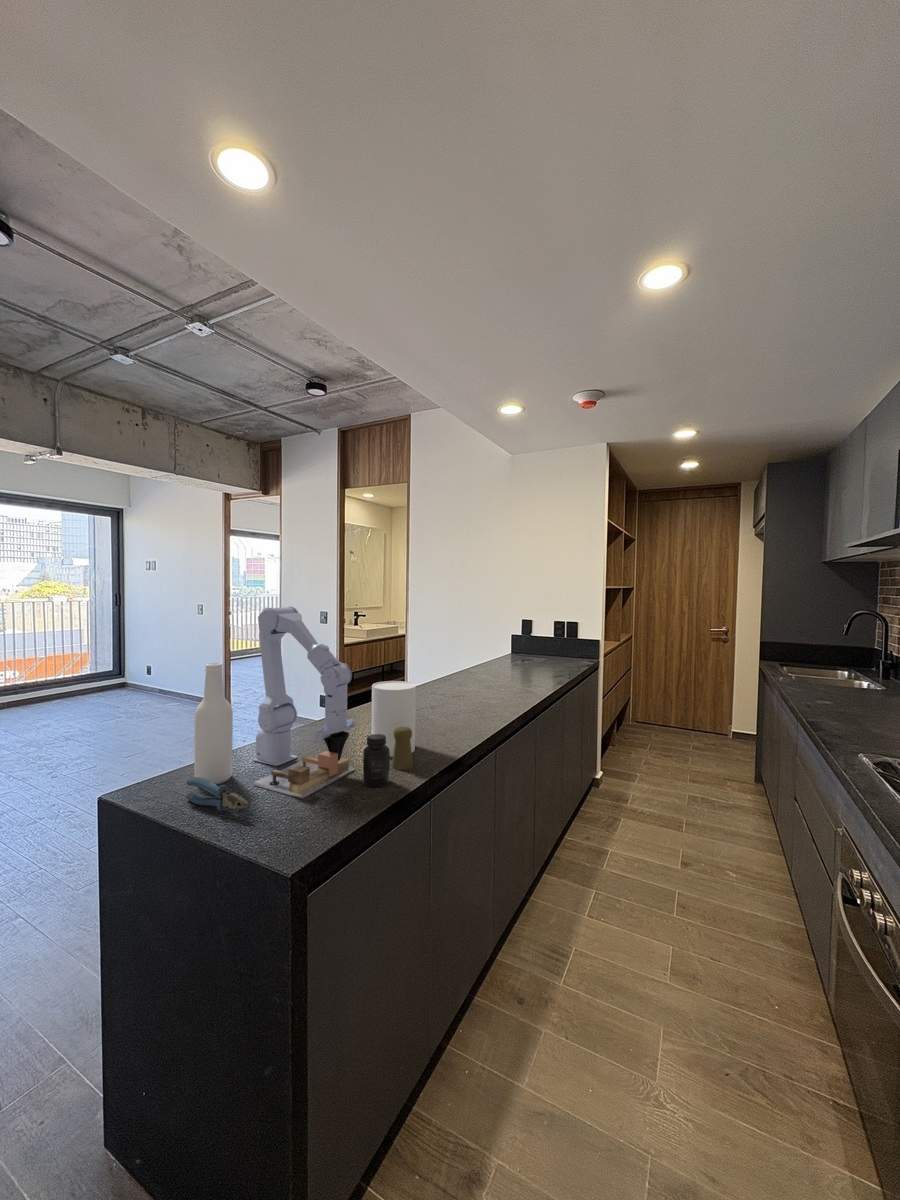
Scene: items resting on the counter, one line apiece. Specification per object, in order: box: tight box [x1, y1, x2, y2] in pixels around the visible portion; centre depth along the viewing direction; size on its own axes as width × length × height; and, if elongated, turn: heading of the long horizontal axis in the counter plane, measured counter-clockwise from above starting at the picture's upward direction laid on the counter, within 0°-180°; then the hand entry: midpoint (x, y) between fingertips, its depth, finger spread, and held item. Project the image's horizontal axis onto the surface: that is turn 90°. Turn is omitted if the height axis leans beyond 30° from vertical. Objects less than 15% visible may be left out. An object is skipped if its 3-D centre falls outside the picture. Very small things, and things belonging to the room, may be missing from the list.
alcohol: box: [193, 662, 234, 785], centre depth 125 cm, size 9×9×30 cm
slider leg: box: [301, 750, 338, 777], centre depth 130 cm, size 10×3×5 cm, turn 64°
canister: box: [370, 680, 417, 758], centre depth 151 cm, size 14×14×20 cm
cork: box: [391, 727, 414, 771], centre depth 137 cm, size 6×6×11 cm
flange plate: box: [253, 760, 355, 799], centre depth 128 cm, size 16×20×1 cm
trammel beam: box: [270, 757, 350, 794], centre depth 127 cm, size 10×20×5 cm, turn 154°
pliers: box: [186, 776, 250, 811], centre depth 109 cm, size 20×2×6 cm, turn 61°
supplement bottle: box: [362, 734, 391, 788], centre depth 126 cm, size 7×7×12 cm
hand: (335, 759), depth 131 cm, fingers closed
